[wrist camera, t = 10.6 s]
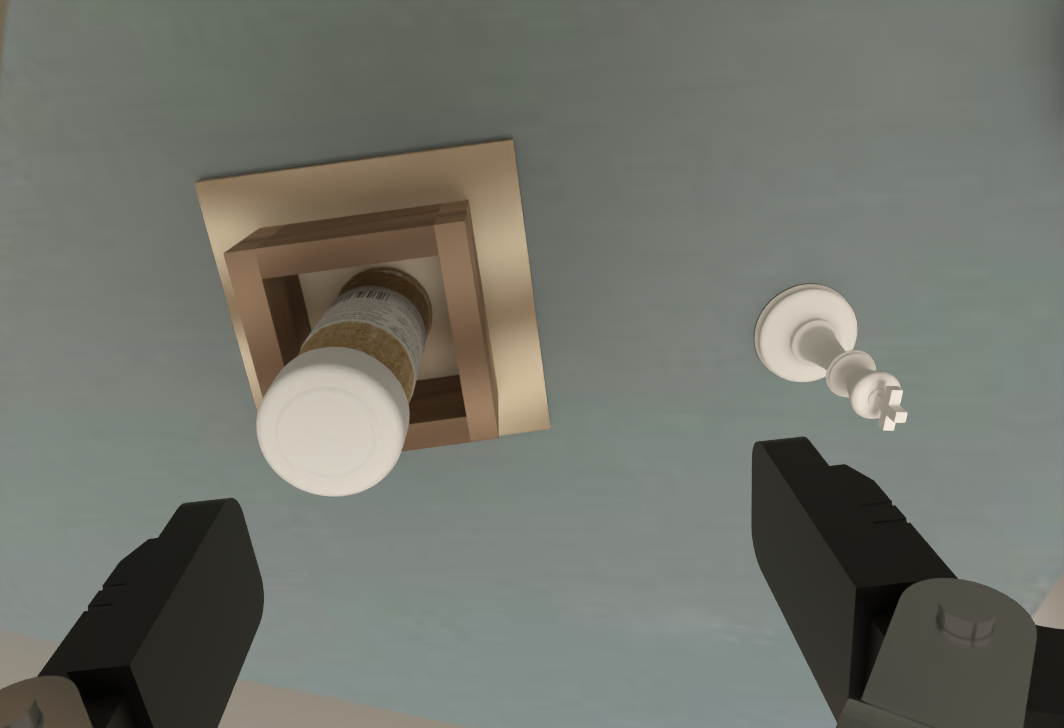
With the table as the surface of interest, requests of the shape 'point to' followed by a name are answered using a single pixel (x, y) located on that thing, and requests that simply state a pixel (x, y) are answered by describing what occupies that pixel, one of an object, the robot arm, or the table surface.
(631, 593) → the table surface
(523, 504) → the table surface
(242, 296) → the socket
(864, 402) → the chess piece
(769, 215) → the table surface
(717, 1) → the table surface
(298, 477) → the sprinkles bottle
